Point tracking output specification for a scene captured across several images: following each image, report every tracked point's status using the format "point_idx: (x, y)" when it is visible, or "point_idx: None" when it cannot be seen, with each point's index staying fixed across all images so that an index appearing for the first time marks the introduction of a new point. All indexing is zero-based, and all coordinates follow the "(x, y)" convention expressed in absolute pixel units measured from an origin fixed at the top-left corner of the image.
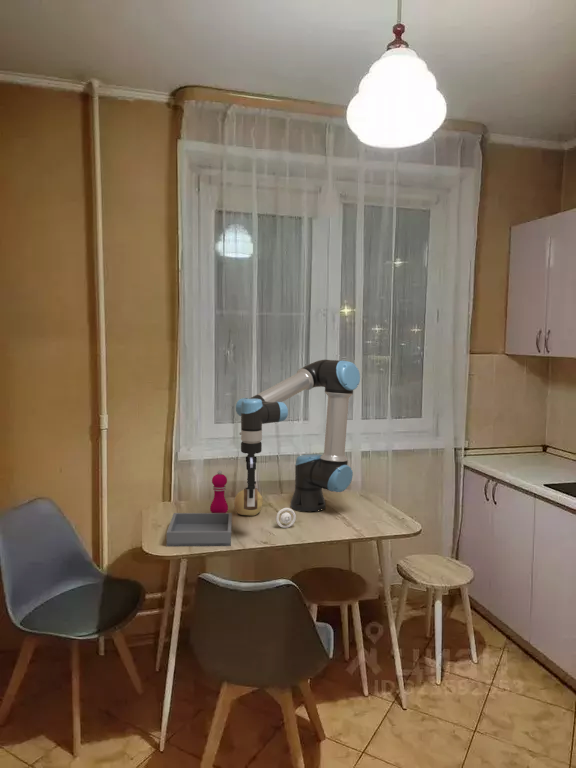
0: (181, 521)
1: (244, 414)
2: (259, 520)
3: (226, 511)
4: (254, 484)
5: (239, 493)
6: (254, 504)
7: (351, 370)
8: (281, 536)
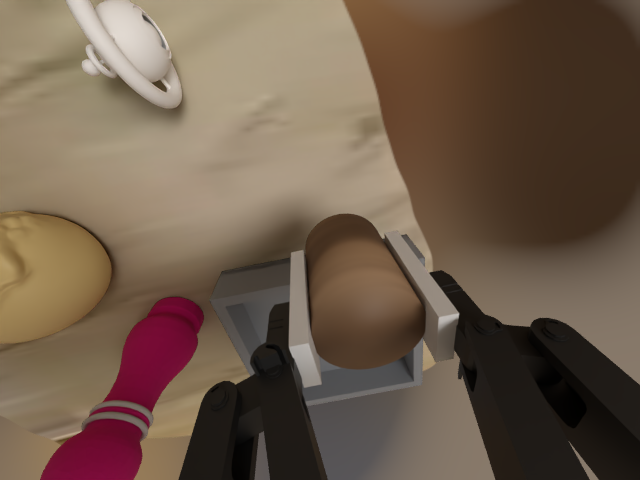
0: None
1: None
2: (121, 194)
3: (169, 317)
4: (609, 363)
5: (27, 338)
6: (401, 238)
7: None
8: (286, 62)
